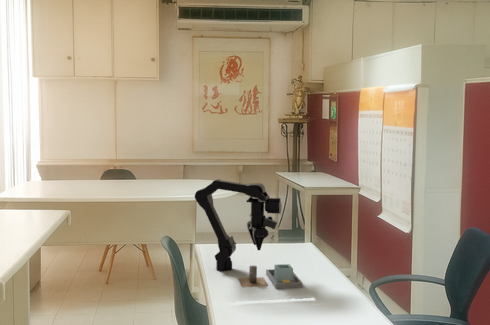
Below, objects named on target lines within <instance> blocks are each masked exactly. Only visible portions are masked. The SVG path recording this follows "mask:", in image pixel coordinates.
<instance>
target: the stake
mask: <svg viewBox="0 0 490 325" xmlns="http://www.w3.org/2000/svg"><path fill="white" fill-rule="evenodd" d="M257 271H258V267H257V265H249V277H240V278H239V277H238V278H237V280H238V282H239V285H240V286H241V288H248V287H249V288H252V287H253V288H254V287H269V283H268V282H267V281H266V279H265V278H264V276H263V277H262V276H261V277H257V276H258V275H257V274H258V272H257Z"/></svg>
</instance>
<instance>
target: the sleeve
mask: <svg viewBox="0 0 490 325" xmlns="http://www.w3.org/2000/svg"><path fill="white" fill-rule="evenodd" d="M293 272H294V268H293V266H291V265H290V264H289V263H288V264H287V263H286V264H285V263H284V264H282V263H281V264H274V279H275V280H276V282H277V283H293Z"/></svg>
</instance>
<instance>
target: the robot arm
mask: <svg viewBox="0 0 490 325" xmlns="http://www.w3.org/2000/svg"><path fill="white" fill-rule="evenodd" d="M218 190H221V191H222V190H223V191H229V192H233V193H234V192H235V193H241V194H244V195H246V196H249V197H248V199H246V203H250V214H249V217H250V220H248V221H247V223H246V228H247V231H248V233H249V236H250V238H251V241H252V243H253V245H254V246H255V247H256V250H257V251H261V250H262V245H263V242H264V239H266V238H267V237H268V236H269V230H268V229H267V228H269V229H271V230H276V227H277V224H278V222H277V221H276V220H274V219H273V217H272V216H269V215H268V216H267V217H266V215H265V212H266V213H267V214H275V215H278V214H279V215H281V214H282V209H283V208H282V207H283V206H282V201H281V200H282V198H281V197H270V195H269V194H268V193H267V191H266V188H265V186H264V184H263V183H259V182H258V183H241V182H235V181H228V180H223V179H214V180H213V181H212V182H211V183H210V184H209V185H207V186H206V187H204V188H201V189H198V190H197V191H196V192H195V194H194V199H195V201H196V203H197V204H198V205H199V207H201V208H202V210H203V211H204V212H205V215H206V217H207V219H208V221H209V224H210V226H211V227H212V229H213V232H214V234H215V237H216V239H217V245H218V246H217V247H218V250H219V251H218V252H216V254H215V255H214V258H215V264H216V265H215V266H216V267H215V270H216V271H217V272H218V271H219V272H228V271H232V270H233V261H232V258H231V257H232V255H233V254H234V253H235V252H236V249H237V247H236V246H237V243H236V241H235V240H234V236H233V235H231V236H229V235H228V234H227V232H226V229H225V228H224V226H223V223H222V221H221V218H220V216H219V214H218V212H217V210H216V208H215V205H214V198H213V194H214V193H215V192H217V191H218Z"/></svg>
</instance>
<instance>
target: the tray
mask: <svg viewBox="0 0 490 325" xmlns="http://www.w3.org/2000/svg"><path fill="white" fill-rule="evenodd" d="M274 269H275V268H274ZM274 269H272V268H271V269H265V275H266V276H267V278H268V280H269V281H270V283H271V284H272V285H273V287H274V289H275V290H284V289H285V290H286V289H289V290H290V289H303V288H304V287H303V284H304V283H303V282H302V280H301V279H300V278H299V276H298V275H296V273H295V272H294V271H293V283H277V282H276V280H275V279H274Z"/></svg>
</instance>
